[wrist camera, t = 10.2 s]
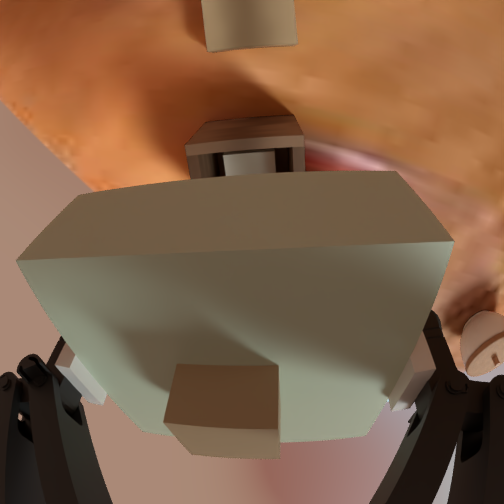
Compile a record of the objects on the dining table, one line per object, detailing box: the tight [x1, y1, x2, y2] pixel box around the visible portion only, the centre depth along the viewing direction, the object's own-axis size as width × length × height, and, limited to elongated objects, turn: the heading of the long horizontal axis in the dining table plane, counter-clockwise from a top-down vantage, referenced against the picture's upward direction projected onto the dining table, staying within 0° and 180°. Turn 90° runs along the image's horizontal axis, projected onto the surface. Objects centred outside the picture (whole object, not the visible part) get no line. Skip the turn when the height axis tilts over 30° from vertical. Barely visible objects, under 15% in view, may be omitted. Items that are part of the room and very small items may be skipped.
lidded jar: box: [460, 310, 504, 377], centre depth 37 cm, size 11×11×9 cm
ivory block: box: [223, 148, 276, 176], centre depth 26 cm, size 4×4×4 cm
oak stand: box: [201, 0, 298, 53], centre depth 19 cm, size 7×7×3 cm
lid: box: [16, 171, 454, 459], centre depth 10 cm, size 11×11×6 cm
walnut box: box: [185, 115, 305, 179], centre depth 25 cm, size 8×8×8 cm
